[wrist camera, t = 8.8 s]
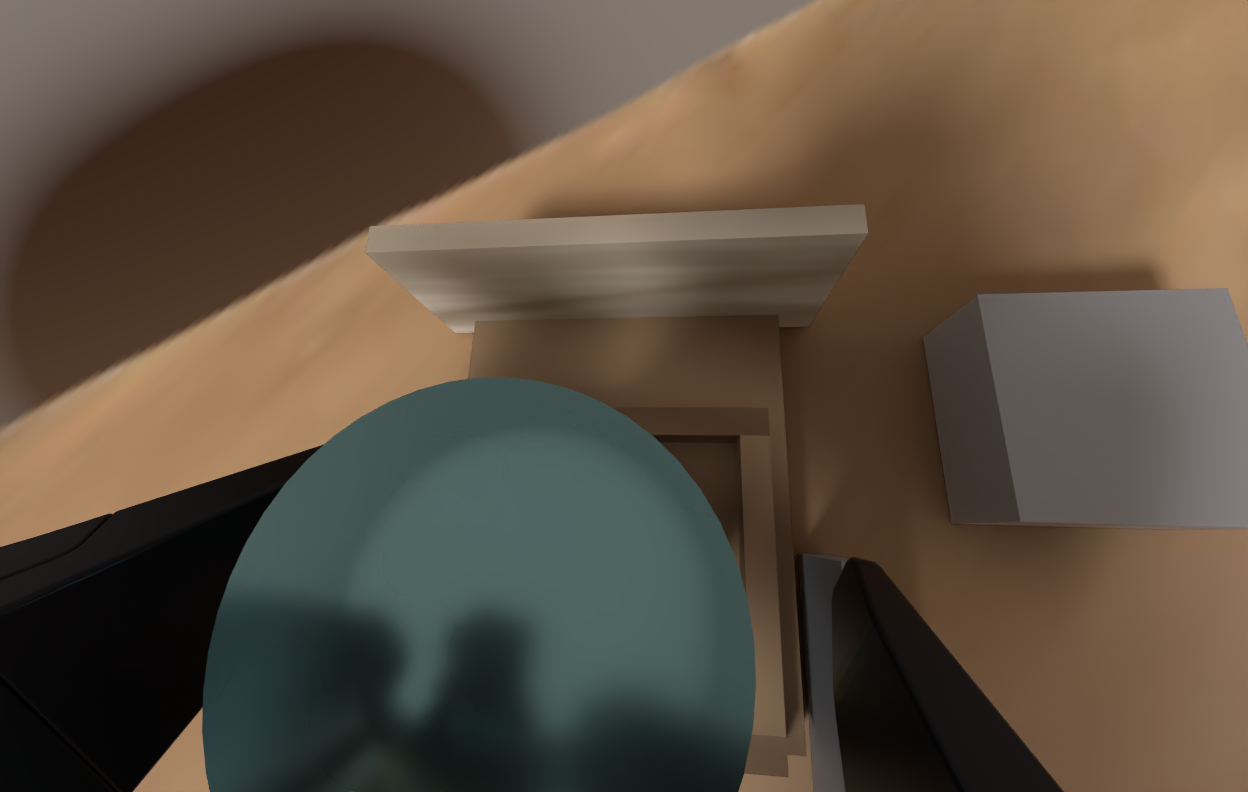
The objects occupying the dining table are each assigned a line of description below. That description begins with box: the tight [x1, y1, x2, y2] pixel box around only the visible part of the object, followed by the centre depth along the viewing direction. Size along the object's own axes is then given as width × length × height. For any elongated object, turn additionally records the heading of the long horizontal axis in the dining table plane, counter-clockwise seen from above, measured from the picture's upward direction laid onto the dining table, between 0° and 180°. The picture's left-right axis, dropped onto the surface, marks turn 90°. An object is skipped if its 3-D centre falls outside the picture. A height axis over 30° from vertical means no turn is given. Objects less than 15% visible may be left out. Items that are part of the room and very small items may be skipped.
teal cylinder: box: [202, 377, 756, 792], centre depth 9 cm, size 5×5×10 cm
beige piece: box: [365, 204, 868, 777], centre depth 13 cm, size 13×13×5 cm
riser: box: [923, 288, 1248, 530], centre depth 13 cm, size 6×6×3 cm
